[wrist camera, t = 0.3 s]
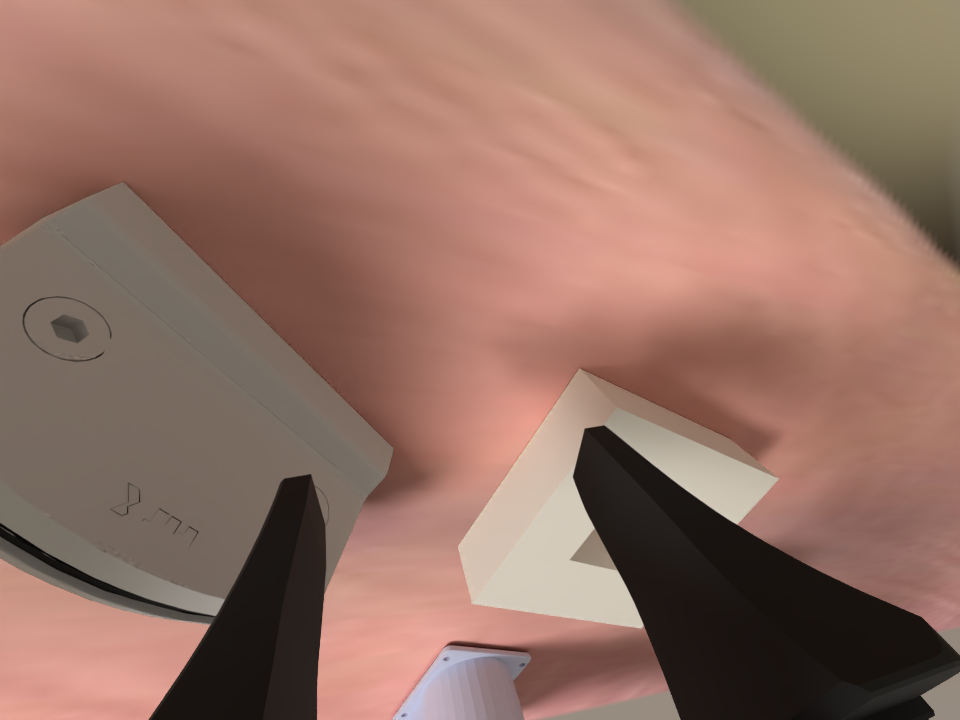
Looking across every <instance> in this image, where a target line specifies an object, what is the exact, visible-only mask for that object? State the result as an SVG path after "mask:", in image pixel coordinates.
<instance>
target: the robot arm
mask: <svg viewBox="0 0 960 720" xmlns="http://www.w3.org/2000/svg"><path fill="white" fill-rule="evenodd" d="M573 479H574V482H575V485H576V487H577V490H578V493H579V495H580V498H581V500H582V503H583V505H584V508H585V510H586V512H587V514H588V516H589V518H590V520H591V522H592V524H593V526H594V528H595V530H596V531H597V533H598V535H599V537H600V539H601V541H602V543H603V544H604V546H605V548H606V550H607V552H608V554H609V556H610V557H611V559H612V561H613V563H614V565H615V567H616V568H617V570H618V572H619V574H620V576H621V578H622V580H623V581H624V583H625V585H626V587H627V589H628V591H629V593H630V595H631V597H632V599H633V601H634V603H635V606H636V608H637V610H638V613H639V615H640V618H641V620H642V622H643V625H644V627H645V629H646V632H647V634H648V636H649V639H650V641H651V644H652V646H653V649H654V651H655V654H656V656H657V659H658V661H659V664H660V666H661V669H662V671H663V674H664V676H665V679H666V681H667V684H668V687H669V690H670V692H671V695H672V697H673V700H674V703H675V705H676V708H677V711H678V713H679V716H680V719H681V720H929V718H931V717H933V716H935V714H934V710H933V709H932V708H931V707H930V706H929V705H928V704H927V703H926V701H925V700H924V699H923V698H922V697H921V696H920V695H922V694H924V693H925V692H927V691H929V690H931V689H932V688H934V687H935V686H937V685H939V684H941V683H942V682H944V681H946V680H947V679H949V678H951V677H952V676H954V675H956V674H957V673H959V672H960V655H959V654H958V653H957V652H956V651H955V650H954V649H953V648H952V647H951V646H950V645H949V644H948V643H947V642H946V641H945V640H944V639H943V638H942V637H941V636H940V635H939V634H938V633H937V632H936V631H935V630H934V629H933V628H932V627H931V626H930V625H929V624H928V623H927V622H926V621H925V620H924V619H923V618H922V617H920V616H918V615H915V614H913V613H911V612H908V611H906V610H904V609H901V608H899V607H897V606H894V605H892V604H890V603H887V602H885V601H883V600H880V599H878V598H876V597H873V596H871V595H869V594H866V593H864V592H862V591H860V590H857V589H855V588H853V587H851V586H849V585H847V584H845V583H843V582H841V581H839V580H837V579H834V578H832V577H830V576H828V575H826V574H824V573H822V572H820V571H818V570H816V569H814V568H812V567H810V566H808V565H806V564H804V563H802V562H801V561H799V560H797V559H795V558H793V557H791V556H790V555H788V554H786V553H784V552H782V551H781V550H779V549H777V548H775V547H773V546H771V545H770V544H768V543H766V542H764V541H763V540H761V539H759V538H758V537H756V536H754V535H753V534H751V533H749V532H748V531H746V530H745V529H743V528H741V527H740V526H738V525H737V524H735V523H733V522H732V521H730V520H729V519H727V518H725V517H724V516H722V515H721V514H719V513H718V512H716V511H715V510H713V509H712V508H711V507H709V506H708V505H706V504H705V503H704V502H702V501H701V500H699V499H698V498H696V497H695V496H694V495H692V494H691V493H689V492H688V491H687V490H685V489H684V488H683V487H681V486H680V485H679V484H677V483H676V482H675V481H673V480H672V479H671V478H669V477H668V476H667V475H666V474H664V473H663V472H662V471H660V470H659V469H658V468H657V467H655V466H654V465H653V464H652V463H650V462H649V461H648V460H647V459H645V458H644V457H643V456H642V455H641V454H639V453H638V452H637V451H636V450H634V449H633V448H632V447H631V446H630V445H628V444H627V443H626V442H625V441H624V440H622V439H621V438H620V437H619V436H617V435H616V434H615V433H614V432H613V431H611V430H610V429H609V428H607V427H606V426H605V425H603V426H597V427H591V428H585V429H584V433H583V437H582V441H581V445H580V449H579V453H578V457H577V461H576V465H575V469H574V474H573ZM325 578H326V528H325V521H324V518H323V514H322V511H321V507H320V504H319V500H318V496H317V493H316V489H315V486H314V482H313V479H312V475H311V474H308V475H302V476H296V477H290V478H284V479H283V480H282V481H281V482H280V485H279V487H278V490H277V493H276V495H275V498H274V500H273V503H272V505H271V508H270V510H269V513H268V515H267V517H266V520H265V522H264V524H263V526H262V528H261V531H260V533H259V535H258V537H257V539H256V541H255V543H254V545H253V547H252V549H251V551H250V553H249V555H248V557H247V559H246V562H245V564H244V566H243V568H242V570H241V571H240V573H239V575H238V577H237V579H236V581H235V583H234V584H233V586H232V588H231V590H230V592H229V593H228V595H227V597H226V599H225V601H224V602H223V604H222V606H221V608H220V610H219V612H218V613H217V615H216V617H215V618H214V620H213V622H212V624H211V625H210V627H209V629H208V630H207V632H206V634H205V635H204V637H203V638H202V640H201V642H200V643H199V645H198V647H197V648H196V650H195V651H194V653H193V654H192V656H191V658H190V659H189V661H188V662H187V664H186V665H185V667H184V669H183V670H182V672H181V673H180V675H179V676H178V678H177V679H176V680H175V682H174V683H173V685H172V686H171V688H170V689H169V691H168V692H167V694H166V695H165V697H164V698H163V700H162V701H161V702H160V704H159V705H158V707H157V708H156V710H155V711H154V713H153V714H152V716H151V717H150V718H149V720H317V676H318V660H319V648H320V637H321V625H322V613H323V602H324V590H325ZM530 661H531V656H530V654H529V653H526V652H516V651H505V650H495V649H485V648H474V647H464V646H454V645H449V646H447V647H445V648H444V649H443V650H442V652H441V653H440V654H439V656H438V657H437V659H436V660H435V661H434V663H433V664H432V665H431V667H430V668H429V669H428V671H427V672H426V673H425V675H424V676H423V677H422V679H421V680H420V682H419V683H418V684H417V686H416V687H415V688H414V690H413V691H412V692H411V694H410V695H409V696H408V698H407V699H406V700H405V702H404V703H403V705H402V706H401V707H400V709H399V710H398V711H397V713H396V714H395V715H394V717H393V718H392V720H525V719H524V716H523V712H522V709H521V705H520V702H519V698H518V695H517V691H516V688H515V684H514V680H515V679H516V678H517V676H518V675H519V674H520V673H521V672H522V670H523V669H524V668H525V667H526V666H527V664H528V663H529V662H530Z"/></svg>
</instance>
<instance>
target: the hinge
mask: <svg viewBox="0 0 960 720" xmlns="http://www.w3.org/2000/svg"><path fill="white" fill-rule="evenodd" d="M393 451H394V448H393V447H392V446H391V445H390V444H389V443H388V442H387V441H386V440H385V439H384V438H383V437H382V436H381V435H379V434H378V433H377V432H376V431H375V430H374V429H373V428H372V427H371V426H370V425H369V424H368V423H367V422H366V421H365V420H364V419H363V418H362V417H361V416H360V415H359V414H358V413H357V412H356V411H355V410H354V409H353V408H352V407H351V406H350V405H349V404H348V403H347V402H346V401H345V400H344V399H343V398H342V397H341V396H340V395H339V394H338V393H337V392H336V391H335V390H334V389H333V388H332V387H331V386H330V385H329V384H328V383H327V382H326V381H325V380H324V379H323V378H322V377H321V376H320V375H319V374H318V373H317V372H316V371H315V370H314V369H313V368H312V367H311V366H310V365H309V364H308V363H307V362H306V361H305V360H304V359H303V358H302V357H301V356H300V355H298V354H297V353H296V352H295V351H294V350H293V349H292V348H291V347H290V346H289V345H288V344H287V343H286V342H285V341H284V340H283V339H282V338H281V337H280V336H279V335H278V334H277V333H276V332H275V331H274V330H273V329H272V328H271V327H270V326H269V325H268V324H267V323H266V322H265V321H264V320H263V319H262V318H261V317H260V316H259V315H258V314H257V313H256V312H255V311H254V310H253V309H252V308H251V307H250V306H249V305H248V304H247V303H246V302H245V301H244V300H243V299H242V298H241V297H240V296H239V295H238V294H237V293H236V292H235V291H234V290H233V289H232V288H231V287H230V286H229V285H228V284H227V283H226V282H225V281H224V280H223V279H222V278H221V277H220V276H219V275H217V274H216V273H215V272H214V271H213V270H212V269H211V268H210V267H209V266H208V265H207V264H206V263H205V262H204V261H203V260H202V259H201V258H200V257H199V256H198V255H197V254H196V253H195V252H194V251H193V250H192V249H191V248H190V247H189V246H188V245H187V244H186V243H185V242H184V241H183V240H182V239H181V238H180V237H179V236H178V235H177V234H176V233H175V232H174V231H173V230H172V229H171V228H170V227H169V226H168V225H167V224H166V223H165V222H164V221H163V220H162V219H161V218H160V217H159V216H158V215H157V214H156V213H155V212H154V211H153V210H152V209H151V208H150V207H149V206H148V205H147V204H146V203H145V202H144V201H143V200H142V199H141V198H140V197H139V196H138V195H136V194H135V193H134V192H133V191H132V190H131V189H130V188H129V187H128V186H127V185H126V184H125V183H124V182H122V183H119V184H117V185H114V186H112V187H109V188H107V189H105V190H102V191H100V192H97V193H95V194H93V195H90V196H88V197H86V198H84V199H82V200H80V201H78V202H76V203H73V204H71V205H69V206H67V207H65V208H62V209H60V210H58V211H56V212H54V213H52V214H49V215H47V216H45V217H43V218H42V219H40V220H39V221H37V222H36V223H34V224H33V225H31V226H30V227H28V228H27V229H25V230H24V231H22V232H21V233H19V234H18V235H16V236H15V237H13V238H12V239H10V240H8V241H7V242H5V243H4V244H2V245H1V246H0V558H1V559H3V560H4V561H6V562H8V563H9V564H11V565H13V566H15V567H16V568H18V569H20V570H22V571H24V572H26V573H28V574H30V575H32V576H35V577H37V578H39V579H41V580H43V581H45V582H47V583H49V584H51V585H54V586H56V587H59V588H61V589H64V590H66V591H69V592H71V593H74V594H76V595H78V596H81V597H83V598H86V599H88V600H92V601H95V602H98V603H101V604H105V605H108V606H111V607H114V608H118V609H121V610H124V611H129V612H133V613H137V614H142V615H146V616H151V617H156V618H163V619H169V620H176V621H182V622H190V623H198V624H206V625H211V624H212V622H213V620H214V618H215V617H216V615H217V613H218V612H219V610H220V608H221V606H222V604H223V602H224V601H225V599H226V597H227V595H228V593H229V592H230V590H231V588H232V586H233V584H234V583H235V581H236V579H237V577H238V575H239V573H240V571H241V570H242V568H243V566H244V564H245V562H246V559H247V557H248V555H249V553H250V551H251V549H252V547H253V545H254V543H255V541H256V539H257V537H258V535H259V533H260V531H261V528H262V526H263V524H264V522H265V520H266V517H267V515H268V513H269V510H270V508H271V505H272V503H273V500H274V498H275V495H276V493H277V490H278V487H279V485H280V482H281V481H282V480H283V479H284V478H290V477H296V476H302V475H308V474H311V475H312V479H313V482H314V486H315V489H316V493H317V496H318V500H319V504H320V507H321V511H322V514H323V518H324V521H325V528H326V578H325V590H324V593H325V591H326V589H327V586H328V584H329V582H330V580H331V577H332V575H333V573H334V570H335V568H336V566H337V563H338V561H339V559H340V557H341V554H342V552H343V550H344V547H345V545H346V543H347V540H348V538H349V536H350V534H351V531H352V529H353V527H354V524H355V522H356V520H357V517H358V515H359V513H360V510H361V508H362V506H363V504H364V501H365V499H366V498H367V496H368V495H369V494H370V493H371V492H372V491H373V490H374V489H375V488H376V486H377V485H378V484H379V483H380V482H381V481H382V480H383V479H384V478H385V476H386V475H387V472H388V469H389V466H390V462H391V458H392V454H393Z"/></svg>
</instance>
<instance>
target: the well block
mask: <svg viewBox="0 0 960 720" xmlns="http://www.w3.org/2000/svg"><path fill="white" fill-rule="evenodd" d="M603 425H605V426H606V427H607V428H609V429H610V430H611V431H613V432H614V433H615V434H616V435H617V436H619V437H620V438H621V439H622V440H624V441H625V442H626V443H627V444H628V445H630V446H631V447H632V448H633V449H634V450H636V451H637V452H638V453H639V454H641V455H642V456H643V457H644V458H645V459H647V460H648V461H649V462H650V463H652V464H653V465H654V466H655V467H657V468H658V469H659V470H660V471H662V472H663V473H664V474H666V475H667V476H668V477H669V478H671V479H672V480H673V481H675V482H676V483H677V484H679V485H680V486H681V487H683V488H684V489H685V490H687V491H688V492H689V493H691V494H692V495H694V496H695V497H696V498H698V499H699V500H701V501H702V502H704V503H705V504H706V505H708V506H709V507H711V508H712V509H713V510H715V511H716V512H718V513H719V514H721V515H722V516H724V517H725V518H727V519H729V520H730V521H732V522H733V523H735V524H738V523H739V522H740V521H741V520H742V519H743V518H744V516H745V515H746V514H747V513H748V512H749V511H750V510H751V509H752V508H753V507H754V506H755V504H756V503H757V502H758V501H759V500H760V499H761V498H762V497H763V496H764V495H765V494H766V493H767V491H768V490H769V489H770V488H771V487H772V486H773V485H774V484H775V483H776V482H777V481H778V480H779V478H777V477H776V476H775V475H774V474H773V473H771V472H770V471H769V470H768V469H766V468H765V467H764V466H763V465H762V464H760V463H759V462H758V461H757V460H755V459H754V458H753V457H752V456H751V455H749V454H748V453H747V452H746V451H744V450H743V449H742V448H741V447H740V446H738V445H737V444H736V443H735V442H733V441H732V440H731V439H729V438H727V437H725V436H723V435H720V434H718V433H716V432H714V431H712V430H710V429H708V428H706V427H703V426H701V425H699V424H697V423H695V422H693V421H691V420H689V419H686V418H684V417H682V416H680V415H678V414H676V413H674V412H671V411H669V410H667V409H665V408H663V407H661V406H659V405H657V404H654V403H652V402H650V401H648V400H646V399H644V398H642V397H640V396H637V395H635V394H633V393H631V392H629V391H627V390H625V389H623V388H620V387H618V386H616V385H614V384H612V383H610V382H608V381H605V380H603V379H601V378H599V377H597V376H595V375H593V374H591V373H588V372H586V371H584V370H582V369H580V368H579V370H578V371H577V373H576V374H575V376H574V377H573V378H572V380H571V381H570V383H569V384H568V386H567V387H566V389H565V390H564V392H563V393H562V395H561V396H560V398H559V399H558V400H557V402H556V403H555V405H554V406H553V408H552V409H551V411H550V412H549V414H548V415H547V417H546V418H545V419H544V421H543V422H542V424H541V425H540V427H539V428H538V430H537V431H536V433H535V434H534V436H533V437H532V439H531V440H530V441H529V443H528V444H527V446H526V447H525V449H524V450H523V452H522V453H521V455H520V456H519V458H518V459H517V461H516V462H515V463H514V465H513V466H512V468H511V469H510V471H509V472H508V474H507V475H506V477H505V478H504V480H503V481H502V482H501V484H500V485H499V487H498V488H497V490H496V491H495V493H494V494H493V496H492V497H491V499H490V500H489V502H488V503H487V504H486V506H485V507H484V509H483V510H482V512H481V513H480V515H479V516H478V518H477V519H476V521H475V522H474V524H473V525H472V526H471V528H470V529H469V531H468V532H467V534H466V535H465V537H464V538H463V540H462V541H461V543H460V544H459V546H458V549H459V553H460V557H461V561H462V565H463V569H464V573H465V577H466V581H467V585H468V589H469V593H470V597H471V601H472V604H477V605H484V606H490V607H497V608H504V609H511V610H518V611H525V612H532V613H538V614H545V615H552V616H559V617H566V618H573V619H580V620H586V621H593V622H600V623H607V624H614V625H621V626H627V627H634V628H642V627H643V626H644V625H643V622H642V620H641V618H640V615H639V613H638V610H637V608H636V606H635V603H634V601H633V599H632V597H631V595H630V593H629V591H628V589H627V587H626V585H625V583H624V581H623V580H622V578H621V576H620V574H619V572H618V570H617V568H616V567H615V565H614V563H613V561H612V559H611V557H610V556H609V554H608V552H607V550H606V548H605V546H604V544H603V543H602V541H601V539H600V537H599V535H598V533H597V531H596V530H595V528H594V526H593V524H592V522H591V520H590V518H589V516H588V514H587V512H586V510H585V508H584V505H583V503H582V500H581V498H580V495H579V493H578V490H577V487H576V485H575V482H574V479H573V474H574V469H575V465H576V461H577V457H578V453H579V449H580V445H581V441H582V437H583V433H584V429H585V428H591V427H597V426H603Z"/></svg>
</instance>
